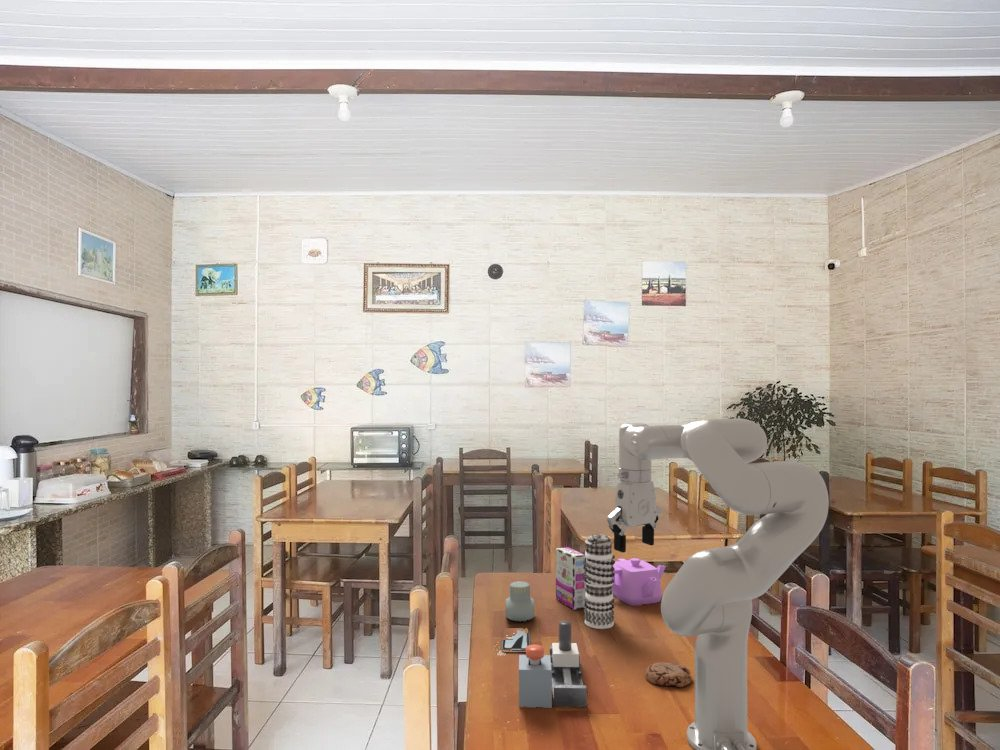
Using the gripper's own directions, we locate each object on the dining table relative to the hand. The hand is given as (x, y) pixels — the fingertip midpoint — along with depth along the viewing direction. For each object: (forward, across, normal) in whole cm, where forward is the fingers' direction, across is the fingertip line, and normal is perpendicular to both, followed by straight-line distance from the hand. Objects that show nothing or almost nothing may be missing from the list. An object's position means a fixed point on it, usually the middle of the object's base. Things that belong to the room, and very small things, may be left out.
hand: (634, 547), depth 142 cm
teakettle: (+32, +40, +34) cm, 61 cm away
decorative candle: (+32, +15, +26) cm, 44 cm away
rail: (+30, -16, +6) cm, 35 cm away
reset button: (+25, -26, +5) cm, 36 cm away
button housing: (+30, -26, +5) cm, 40 cm away
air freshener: (+32, -1, +43) cm, 53 cm away
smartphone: (+32, -11, +31) cm, 46 cm away
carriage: (+29, -13, +10) cm, 33 cm away
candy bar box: (+32, +19, +43) cm, 56 cm away
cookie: (+31, +5, -6) cm, 32 cm away
